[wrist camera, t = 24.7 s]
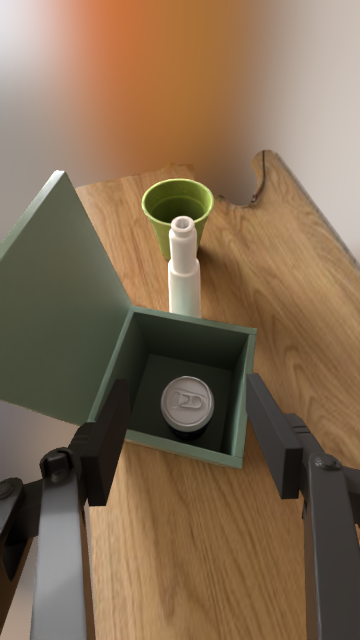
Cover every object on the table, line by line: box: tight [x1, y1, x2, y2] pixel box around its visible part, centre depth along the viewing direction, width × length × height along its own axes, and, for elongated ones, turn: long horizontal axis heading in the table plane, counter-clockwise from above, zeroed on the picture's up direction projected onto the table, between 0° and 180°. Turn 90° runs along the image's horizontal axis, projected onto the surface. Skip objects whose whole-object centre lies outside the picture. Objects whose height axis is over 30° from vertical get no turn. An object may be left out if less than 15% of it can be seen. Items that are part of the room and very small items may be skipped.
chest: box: [87, 305, 257, 469], centre depth 32 cm, size 15×14×14 cm
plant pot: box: [142, 179, 214, 261], centre depth 48 cm, size 12×12×11 cm
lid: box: [0, 171, 132, 427], centre depth 20 cm, size 15×14×1 cm
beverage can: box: [160, 376, 215, 441], centre depth 31 cm, size 6×6×12 cm
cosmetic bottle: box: [168, 216, 202, 318], centre depth 35 cm, size 6×6×22 cm
